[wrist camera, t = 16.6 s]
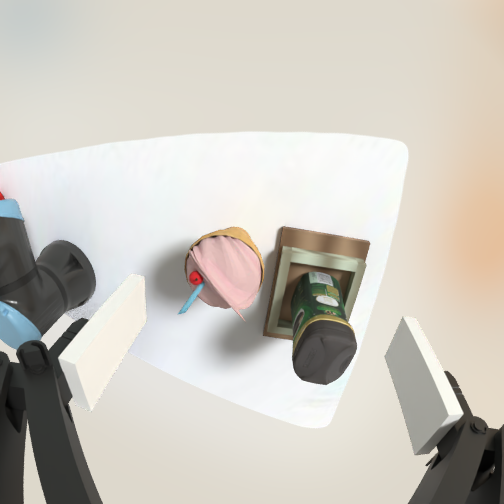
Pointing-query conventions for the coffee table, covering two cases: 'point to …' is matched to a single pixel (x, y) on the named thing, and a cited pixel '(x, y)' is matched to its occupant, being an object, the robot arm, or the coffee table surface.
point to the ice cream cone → (224, 270)
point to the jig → (312, 260)
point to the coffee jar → (320, 330)
